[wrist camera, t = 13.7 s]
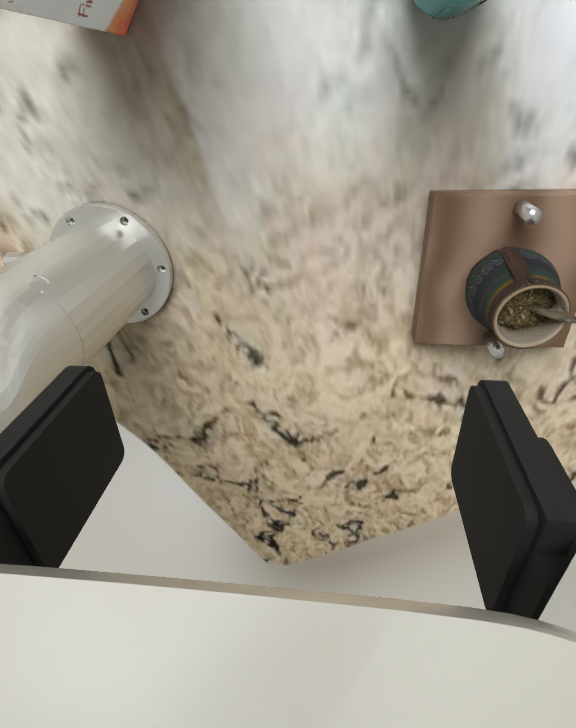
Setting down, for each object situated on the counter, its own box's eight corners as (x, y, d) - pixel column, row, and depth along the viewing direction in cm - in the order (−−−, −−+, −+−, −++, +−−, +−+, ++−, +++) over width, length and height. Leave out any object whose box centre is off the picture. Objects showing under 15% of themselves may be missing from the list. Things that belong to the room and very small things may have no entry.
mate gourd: (451, 252, 39) (480, 298, 31) (545, 225, 37) (603, 267, 29) (463, 322, 42) (492, 381, 34) (550, 301, 40) (603, 358, 32)
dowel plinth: (411, 331, 46) (418, 359, 42) (430, 190, 39) (441, 205, 34) (553, 334, 45) (576, 364, 40) (601, 188, 37) (637, 203, 33)
